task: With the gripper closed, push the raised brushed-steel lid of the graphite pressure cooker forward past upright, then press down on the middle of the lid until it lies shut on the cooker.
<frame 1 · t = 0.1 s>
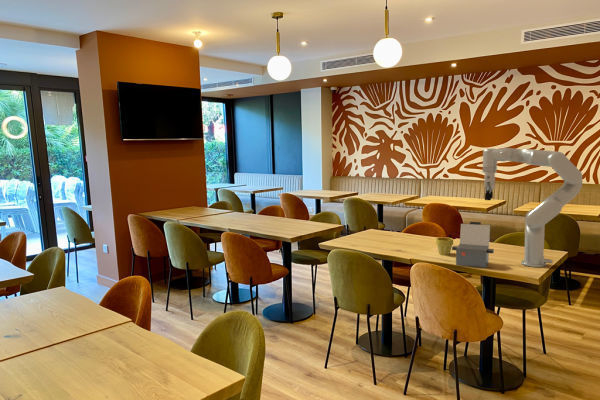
hand: (488, 199, 254), 37 cm above the table, tool pointing down, fingers open, 9 cm apart
plant pot: (444, 254, 276), on the table
cooker: (472, 263, 251), on the table
lid: (475, 233, 257), point 16 cm above the table, hinge at 104.0°
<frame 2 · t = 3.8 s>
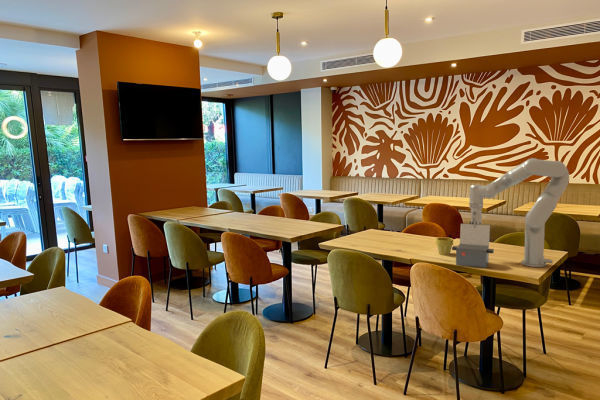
hand: (475, 235, 260), 14 cm above the table, tool pointing down, fingers closed
lid: (474, 233, 257), point 16 cm above the table, hinge at 99.7°, touching gripper
everything else where it was.
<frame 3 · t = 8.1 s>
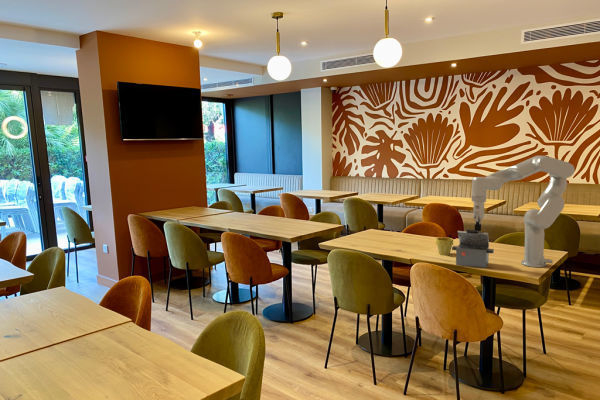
hand: (477, 230, 246), 20 cm above the table, tool pointing down, fingers closed
lid: (473, 236, 251), point 16 cm above the table, hinge at 45.1°, touching cooker
everything else where it was.
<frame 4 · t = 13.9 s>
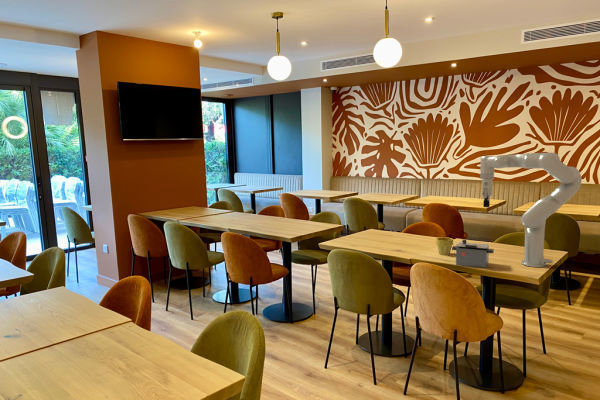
hand: (486, 207, 260), 31 cm above the table, tool pointing down, fingers closed
lid: (472, 243, 249), point 12 cm above the table, hinge at 5.3°
everything else where it was.
at the end: lid at +5° (first picture: +104°); plant pot moved 0.2 cm from its start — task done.
